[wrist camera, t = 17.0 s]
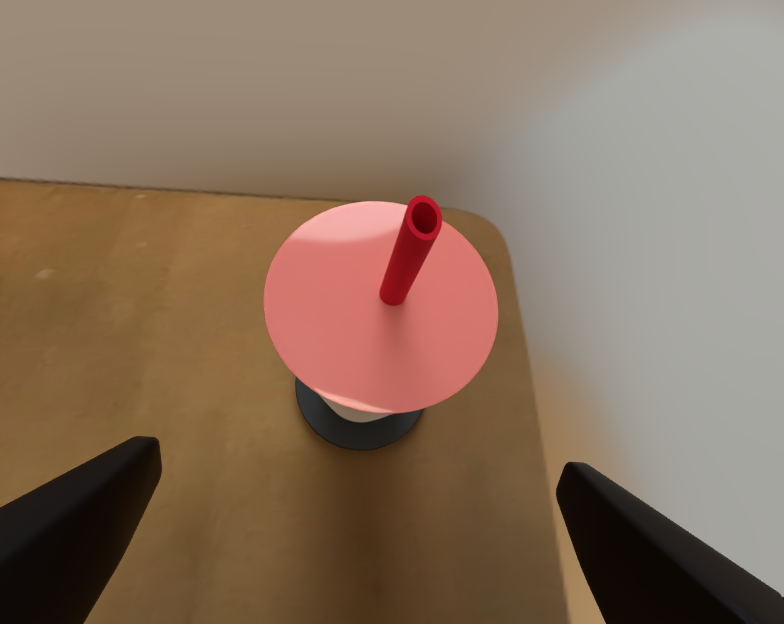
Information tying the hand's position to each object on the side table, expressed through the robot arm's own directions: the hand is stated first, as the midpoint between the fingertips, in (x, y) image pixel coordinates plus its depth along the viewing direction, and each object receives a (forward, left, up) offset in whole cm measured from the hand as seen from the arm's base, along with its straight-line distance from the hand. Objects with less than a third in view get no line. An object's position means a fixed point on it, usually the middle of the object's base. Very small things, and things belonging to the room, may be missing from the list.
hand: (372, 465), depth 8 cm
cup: (+3, +1, -8) cm, 9 cm away
